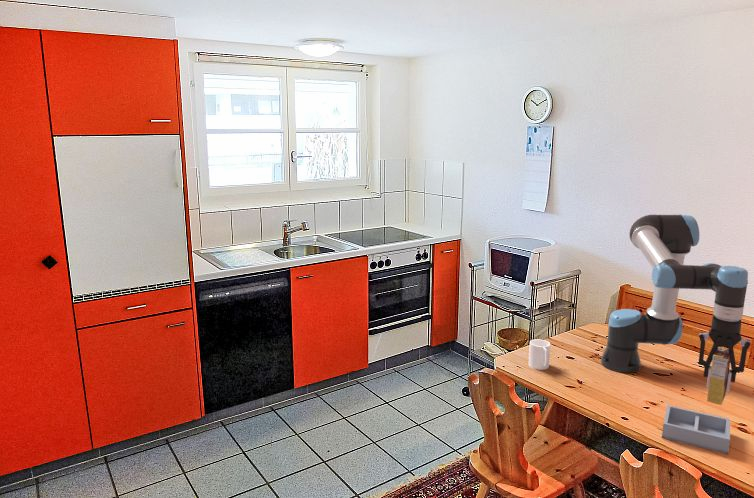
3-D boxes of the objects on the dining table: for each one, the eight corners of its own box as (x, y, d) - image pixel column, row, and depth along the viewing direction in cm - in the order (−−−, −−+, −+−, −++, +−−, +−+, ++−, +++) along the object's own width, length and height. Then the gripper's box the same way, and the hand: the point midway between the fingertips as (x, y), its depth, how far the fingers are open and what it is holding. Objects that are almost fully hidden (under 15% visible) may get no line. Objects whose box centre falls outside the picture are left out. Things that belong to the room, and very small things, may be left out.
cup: (535, 374, 222) (537, 351, 220) (525, 361, 234) (527, 339, 232) (555, 373, 223) (557, 350, 220) (544, 361, 234) (546, 338, 232)
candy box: (710, 390, 177) (717, 346, 173) (725, 394, 174) (733, 349, 171) (705, 401, 170) (712, 355, 167) (721, 405, 168) (729, 359, 164)
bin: (661, 437, 176) (663, 423, 175) (665, 418, 188) (667, 404, 187) (727, 454, 167) (730, 439, 166) (727, 432, 179) (729, 418, 178)
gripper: (693, 316, 168) (684, 386, 173) (763, 326, 159) (751, 400, 164) (694, 309, 174) (686, 377, 179) (761, 318, 165) (751, 390, 170)
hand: (717, 388), depth 171 cm, fingers closed on candy box, 4 cm apart
